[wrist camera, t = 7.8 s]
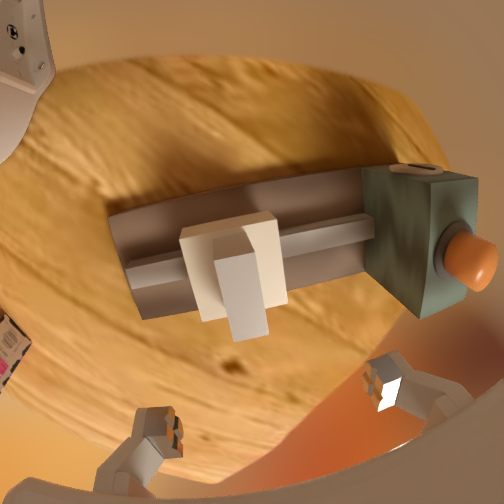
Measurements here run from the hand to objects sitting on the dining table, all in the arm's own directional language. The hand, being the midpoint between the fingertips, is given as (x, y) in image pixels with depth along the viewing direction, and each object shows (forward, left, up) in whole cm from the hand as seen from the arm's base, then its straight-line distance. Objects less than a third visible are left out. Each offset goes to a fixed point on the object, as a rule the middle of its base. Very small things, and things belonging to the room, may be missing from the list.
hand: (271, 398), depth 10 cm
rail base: (0, +4, -18) cm, 19 cm away
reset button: (0, +16, -6) cm, 17 cm away
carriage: (0, 0, -16) cm, 16 cm away
